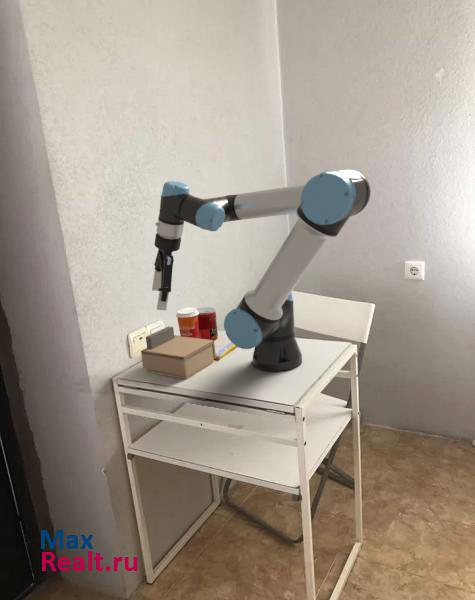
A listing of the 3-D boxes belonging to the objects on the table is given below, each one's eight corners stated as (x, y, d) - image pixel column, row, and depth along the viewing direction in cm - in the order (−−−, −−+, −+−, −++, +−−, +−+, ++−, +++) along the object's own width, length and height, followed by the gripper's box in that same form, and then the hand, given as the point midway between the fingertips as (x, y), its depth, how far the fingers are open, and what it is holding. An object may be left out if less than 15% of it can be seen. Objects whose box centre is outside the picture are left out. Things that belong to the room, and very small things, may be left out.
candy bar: (219, 362, 163) (218, 356, 163) (208, 361, 165) (207, 355, 165) (243, 345, 178) (242, 340, 177) (232, 344, 180) (232, 339, 179)
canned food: (215, 342, 182) (212, 312, 179) (193, 342, 183) (190, 313, 181) (220, 335, 189) (217, 306, 186) (199, 335, 191) (196, 307, 188)
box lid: (215, 357, 163) (212, 328, 160) (185, 375, 150) (181, 344, 147) (175, 351, 171) (172, 324, 169) (143, 368, 158) (139, 339, 156)
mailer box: (214, 362, 162) (212, 344, 161) (187, 379, 151) (185, 359, 149) (174, 356, 171) (172, 339, 169) (146, 371, 159) (143, 353, 158)
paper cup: (176, 352, 174) (171, 313, 171) (186, 345, 181) (182, 307, 178) (196, 354, 171) (192, 314, 168) (206, 346, 178) (202, 307, 175)
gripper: (151, 220, 160) (143, 282, 169) (161, 248, 139) (150, 317, 147) (175, 223, 163) (165, 283, 171) (188, 251, 141) (176, 319, 150)
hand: (158, 299), depth 159 cm, fingers open, 13 cm apart
